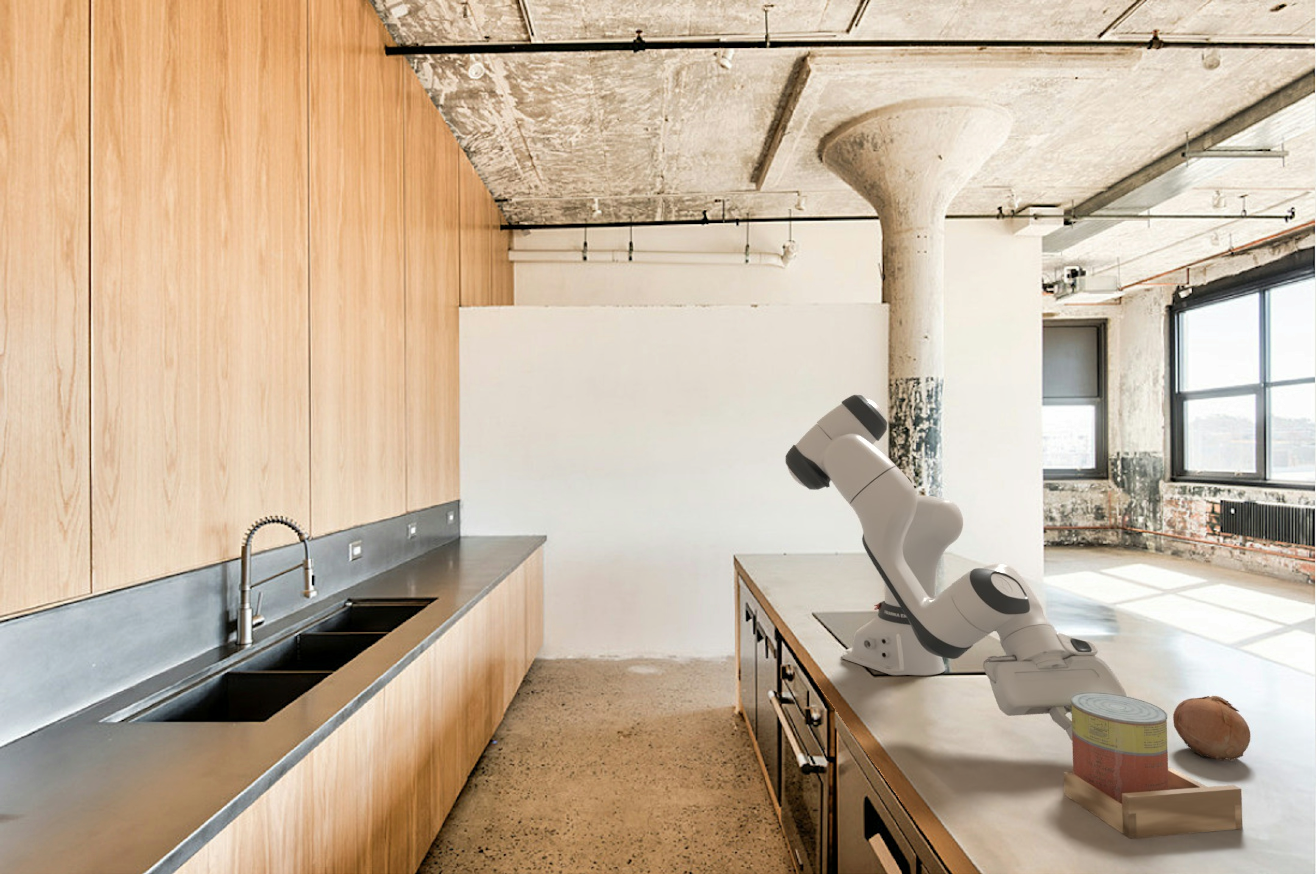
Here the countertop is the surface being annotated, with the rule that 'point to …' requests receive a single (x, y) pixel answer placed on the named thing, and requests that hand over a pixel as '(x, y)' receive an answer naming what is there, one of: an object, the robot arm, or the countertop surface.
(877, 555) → the robot arm
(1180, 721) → the onion
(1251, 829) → the countertop surface
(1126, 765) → the canned food
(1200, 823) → the cradle
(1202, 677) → the countertop surface
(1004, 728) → the countertop surface
